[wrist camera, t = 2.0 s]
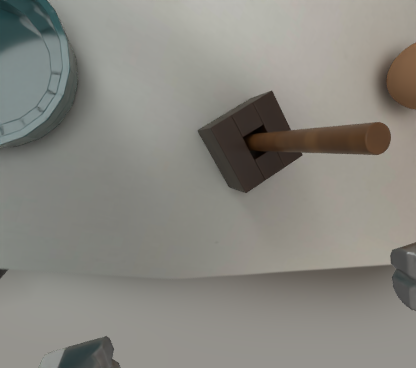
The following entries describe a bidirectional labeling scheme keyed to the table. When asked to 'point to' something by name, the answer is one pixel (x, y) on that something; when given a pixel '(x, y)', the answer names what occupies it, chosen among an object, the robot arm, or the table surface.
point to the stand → (236, 147)
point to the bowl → (33, 71)
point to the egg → (403, 78)
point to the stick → (325, 140)
